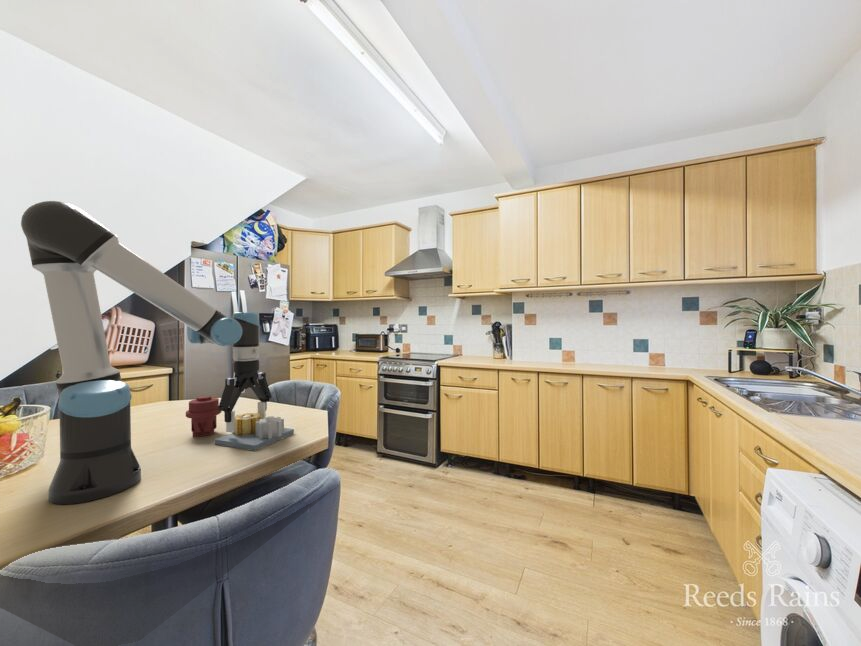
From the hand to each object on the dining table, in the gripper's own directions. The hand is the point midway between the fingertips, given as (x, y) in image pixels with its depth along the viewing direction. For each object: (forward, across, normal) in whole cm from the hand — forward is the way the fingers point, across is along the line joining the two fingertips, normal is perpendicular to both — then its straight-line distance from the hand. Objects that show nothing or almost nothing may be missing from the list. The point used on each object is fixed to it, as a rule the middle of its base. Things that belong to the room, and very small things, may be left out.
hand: (246, 426), depth 114 cm
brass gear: (+2, 0, 0) cm, 2 cm away
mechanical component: (+3, -3, +15) cm, 16 cm away
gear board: (+3, -1, -5) cm, 6 cm away
